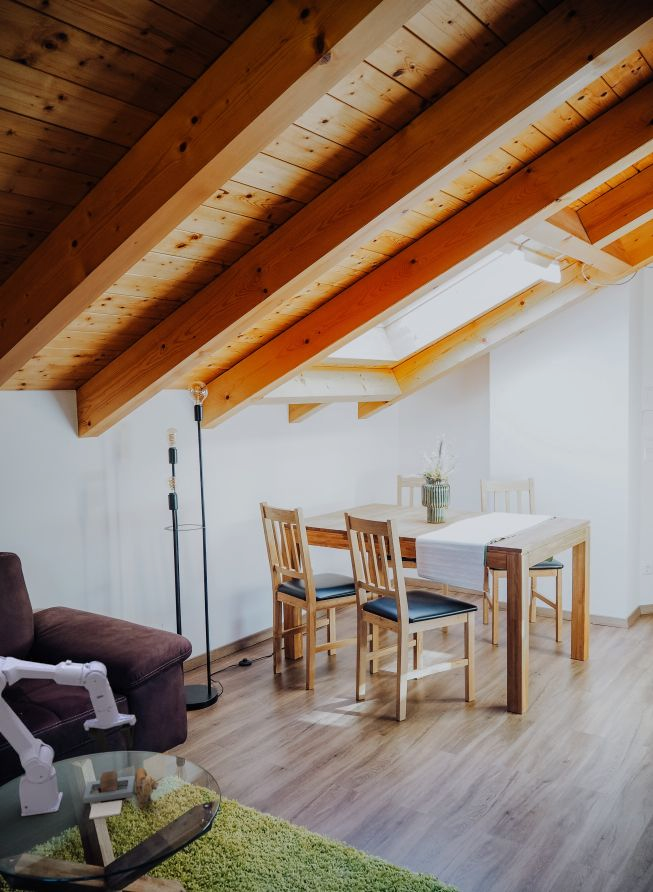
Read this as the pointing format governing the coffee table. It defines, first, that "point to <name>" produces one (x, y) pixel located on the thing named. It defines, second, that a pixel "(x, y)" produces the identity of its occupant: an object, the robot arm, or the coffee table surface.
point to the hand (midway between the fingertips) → (118, 748)
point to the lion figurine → (144, 786)
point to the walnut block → (109, 781)
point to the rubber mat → (105, 809)
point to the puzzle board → (111, 794)
